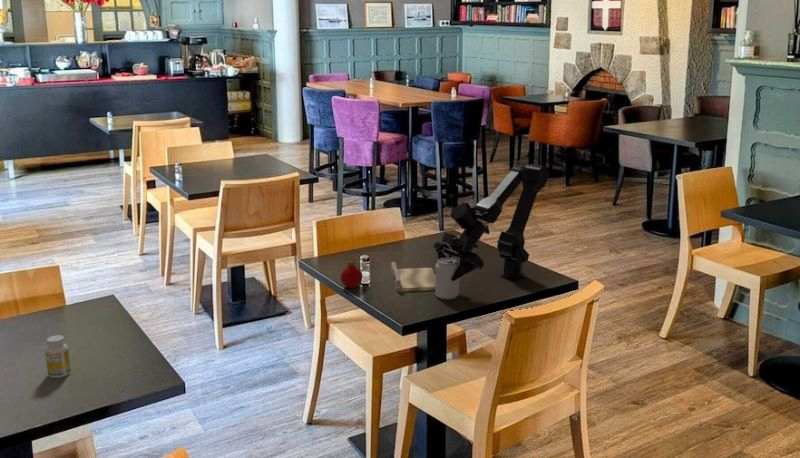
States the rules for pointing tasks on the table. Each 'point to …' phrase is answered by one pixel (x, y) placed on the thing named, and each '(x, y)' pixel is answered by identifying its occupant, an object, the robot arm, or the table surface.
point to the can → (446, 278)
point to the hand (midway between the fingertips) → (443, 277)
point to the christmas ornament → (351, 275)
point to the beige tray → (413, 279)
